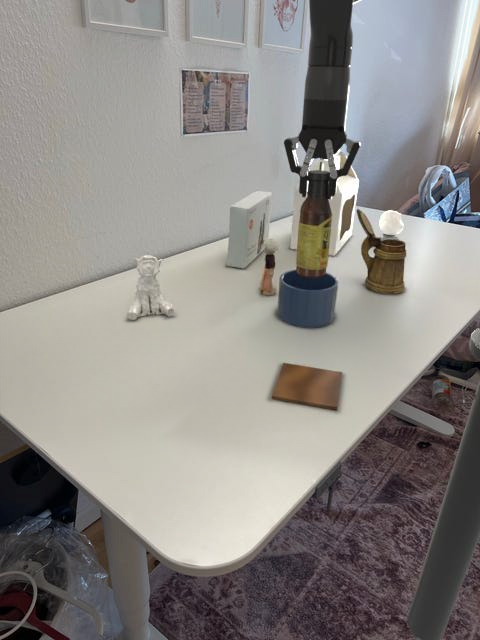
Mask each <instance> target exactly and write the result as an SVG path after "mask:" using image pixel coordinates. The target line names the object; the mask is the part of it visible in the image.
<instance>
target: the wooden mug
mask: <svg viewBox="0 0 480 640" xmlns="http://www.w3.org/2000/svg"><path fill="white" fill-rule="evenodd" d="M356 216H357V219H358V221H359V223H360V225H361V227H362V229H363V231H364V233H365V234H366V235H367V236H366V237H365V238H364V239H363V241H362V242H361V247H360V254H361V256H362V259H363V262H364V263H365V266H366V269H367V276H366V277H365V280H364V284H365V286H366V288H367V289H368V290H370V291H372V292H375V293H378V294H382V295H396V294H401V293H402V292H404V291H405V280H404V277H405V263H406V262H405V261H406V260H405V259H406V257H407V249H406V242H405V241H403V240H400V239H396V238H385V239H382V238H381V237H379V236H376V233H375V232H374V229H373V226H372V224H371V222H370V220H369V218H368V217H367V215H366V213H364V212H363V211H362V210H360V209H359V208H357V209H356ZM371 248H374V249H373V254H374V256H371V255H370V254H369V251H370V249H371Z"/></svg>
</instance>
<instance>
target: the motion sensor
mask: <svg viewBox="0 0 480 640" xmlns="http://www.w3.org/2000/svg"><path fill="white" fill-rule="evenodd" d="M401 216H402V214H401V213H400V212H398V211H395V210H392V209H389V210H386V211H385V212H383V213H382V214H381V215H380V218H379V220H378V226H379V230H380V231H381V232H382V233H383V234H385V235H387V236H395V235H398V234H400V233H402V231H403V230H404V222H403V221H402V218H401Z"/></svg>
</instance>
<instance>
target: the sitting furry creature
mask: <svg viewBox="0 0 480 640" xmlns="http://www.w3.org/2000/svg"><path fill="white" fill-rule="evenodd" d="M133 260H134V262H135V264H136V270H137V272H138V275H140V277H139V278H138V279H137V283H136V285H135V288H136V291H135V294H134V295H135V296H134V297H133V300H134V301H133V303H132V304H131V305H130V306H129V307H128V308H129V309H128V310H127V314H126V317H127V319H129V320H131V321H135V320H137V318H140V317H147V316H150V315H152V316H157V315H166V316H167V317H168V318H171V317H173V316H174V314H175V309H174V306H172V303H170V302H169V301H168V300H166V298H165V296H164V295H163V293H162V291H161V287H160V285H161V284H160V282H159V280H158V279H157V275H158V274H159V273H160V271H161V270H160V267H161V264H162V261H163V258H160V259H158V258H157V257H155V256H153V255H151V254H147V255H142V256H140V258H137V257H133Z"/></svg>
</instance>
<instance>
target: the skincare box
mask: <svg viewBox="0 0 480 640" xmlns="http://www.w3.org/2000/svg"><path fill="white" fill-rule="evenodd" d="M272 202H273V192H269V191H263V190H255V191H254V192H252V193H250V194H248V195H246V196H244V197H243V198H242V199H240V200H238V201H237V202H235V203H233V204H232V205H230V208H229V226H228V247H227V261H226V266H227V267H233V268H239V269H246V267H247V266H248V265H250V264H251V263H252V262H253V261H254V260H255V259H256V258H257V257H258V256H259V255H260V254H261V253H262V252H263V251H264V248H265V241H266V240H267V239H270V238H269V236H270V226H271V216H272V205H273V203H272Z"/></svg>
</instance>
